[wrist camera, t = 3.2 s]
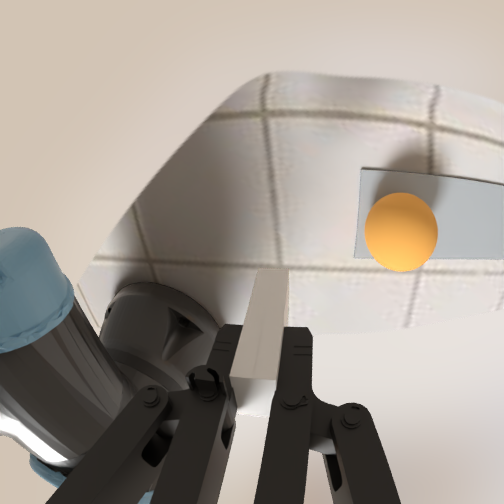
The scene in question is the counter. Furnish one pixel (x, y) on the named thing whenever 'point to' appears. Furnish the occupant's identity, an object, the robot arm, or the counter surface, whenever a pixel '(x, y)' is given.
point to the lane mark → (442, 212)
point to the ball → (401, 231)
